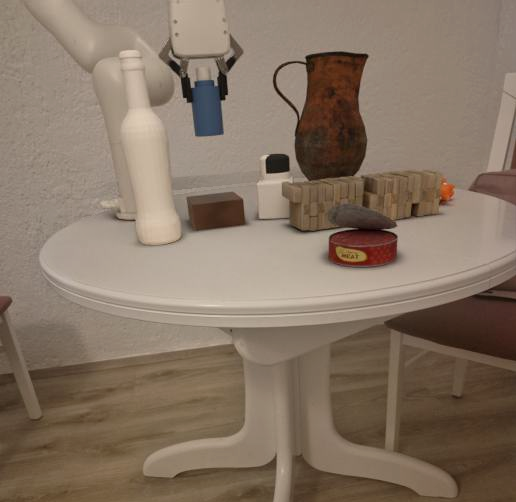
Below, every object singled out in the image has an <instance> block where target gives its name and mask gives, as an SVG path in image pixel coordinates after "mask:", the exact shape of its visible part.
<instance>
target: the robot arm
mask: <svg viewBox="0 0 516 502" xmlns="http://www.w3.org/2000/svg"><path fill="white" fill-rule="evenodd" d="M21 2H22V4H23V5H24V7H25V8H26V10H27V11H28V12H29V13H30V15H31V16H32V17H33V18H34V19H35V20H36V21H37V22H38V23H39V24H40V25H41V26H42V27H43V28H45V30H47V31H48V32H49V33H50V34H51V35H52V36H53V38H55V40H56V41H57V42H58V43H59V44H60V46H61V47H62V48H63V50H64V51H66V53H67V54H68V55H69V56H70V57H71V58H72V60H73V61H74V62H75V63H76V64H77V66H79V67H80V68H81V69H82V70H83V71H84V72H86V73H87V74H91V81H92V87H93V91H94V93H95V96H96V99H97V102H98V104H99V106H100V110H101V113H102V116H103V120H104V125H105V129H106V132H107V139H108V143H109V148H110V153H111V158H112V164H113V168H114V173H115V179H116V184H117V189H118V195H117V197H115V198H113V199H110V200H107V199H106V200H100V207H101V211H103V210H107V211H108V210H109V211H110V210H117V211H116V212H115V216H116V218H117V219H120V220H127V221H128V220H129V221H135V220H136V206H135V201H134V197H133V193H132V188H131V184H130V180H129V176H128V172H127V167H126V163H125V159H124V155H123V151H122V146H121V142H120V128H121V125H122V122H123V120H124V118H125V116H126V114H127V111H128V107H127V100H126V93H125V87H124V80H123V73H122V71H121V62H120V59H119V53H120V52H121V51H127V50H137V51H139V52H140V53H141V56H142V58H141V60H142V62H143V64H144V65H145V77H146V83H147V89H148V94H149V100H150V106H151V108H157V107H161V106H162V107H163V106H164V105H166V104H168V103H169V102H170V101H171V100H172V98H173V96H174V94H175V80H174V77H173V76H174V75H173V73H175V74H176V75H177V76H178V78H179V79H180V84H181V93H182V98H183V99H186V104H191V102H192V92H191V88H192V84H191V83H192V82H191V78H190V77H189V74H188V68H189V62H190V61H191V60H205V59H207V60H209V59H213V60H214V62H215V66H216V68H217V70H218V73H217V74H218V76H216V81H217V86H220V96H221V102H222V101H223V102H224V101H227V100H226V97H227V96H229V87H228V75H229V72H230V71H231V70H232V68H233V67H234V65H235V64H236V63H237V61H238V60H239V59H240V58H241V57H242V56H243V54H244V49H243V48H242V47H241V45H240V44H239V43H238V42H237V41H236V39H235V38H234V36H232V35H231V33H230V27H229V22H228V21H229V20H228V14H227V9H226V4H225V0H166V2H167V3H166V4H167V5H166V6H167V8H166V9H167V10H166V11H167V27H168V37H167V39H166V41H165V43H164V44H163V46H162V48H161V49H160V51H159V53H158V52H157V51H156V50H155V49H154V48H153V46H151V44H150V43H149V42H147V40H146V39H145V38H144V37H143V36H142V35H141V34H140V33H139V32H138V31H137V30H135V29H134V28H132V27H130V26H126V25H124V24H123V25H122V24H115V23H103V22H99V21H96V20H94V19H93V18H92V17H91V16H90V15H89V14H88V13H87V12H86V11H85V10H84V8H83V7H81V6H80V5H79V4H78V3H77V2H76V1H74V0H21ZM231 51H232V54H231V55H230V56H229V57H228V58H227V60H225V56H226V55H228V54H229V53H230V52H231ZM170 52H171V55H172V57H173V58H175V59H176V60H179V63H177V62H176V60H174V59H173V58H171V57H170V55H169V53H170ZM172 72H173V73H172Z"/></svg>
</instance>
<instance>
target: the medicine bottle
mask: <svg viewBox="0 0 516 502" xmlns="http://www.w3.org/2000/svg"><path fill="white" fill-rule="evenodd" d="M258 161H259V175H260V178H259V180H258V182H257V183H256V196H257V197H256V198H257V212H258V219H259V220H277V219H278V220H279V219H290V209H289V199H287V198H285V197H284V196H282V182H286V181H288V182H290V183H295V181H294V176H290V175H291V165H290V162H291V161H290V156H289V155H288V154H286V153H269V154H264V155H262V156H260V158H259V159H258Z"/></svg>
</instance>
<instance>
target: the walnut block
mask: <svg viewBox="0 0 516 502" xmlns="http://www.w3.org/2000/svg"><path fill="white" fill-rule="evenodd" d="M186 204H187V205H186V206H187V212H188V219H189V223H190V224H191V226H192V227H193V229H194V230H195V232H198V231H205V230H206V231H207V230H213V229H222V228H229V227H237V226H245V225H246V217H245V202H244V198H243V197H241V196H240V195H239V194H237V193H236V192H234V191H226V192H217V193H208V194H199V195H189V196H186Z"/></svg>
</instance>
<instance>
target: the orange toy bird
mask: <svg viewBox="0 0 516 502" xmlns="http://www.w3.org/2000/svg"><path fill="white" fill-rule="evenodd" d="M447 181H448V179H447V178H445V177H443V179H442V186H441V193H440V201H446V202H449V201H450V200H451V198H452V197H453V196H454V195H455V191H454V189H455V188H456V187H455V186H456V185H455V184H450V183H446V182H447Z"/></svg>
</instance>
